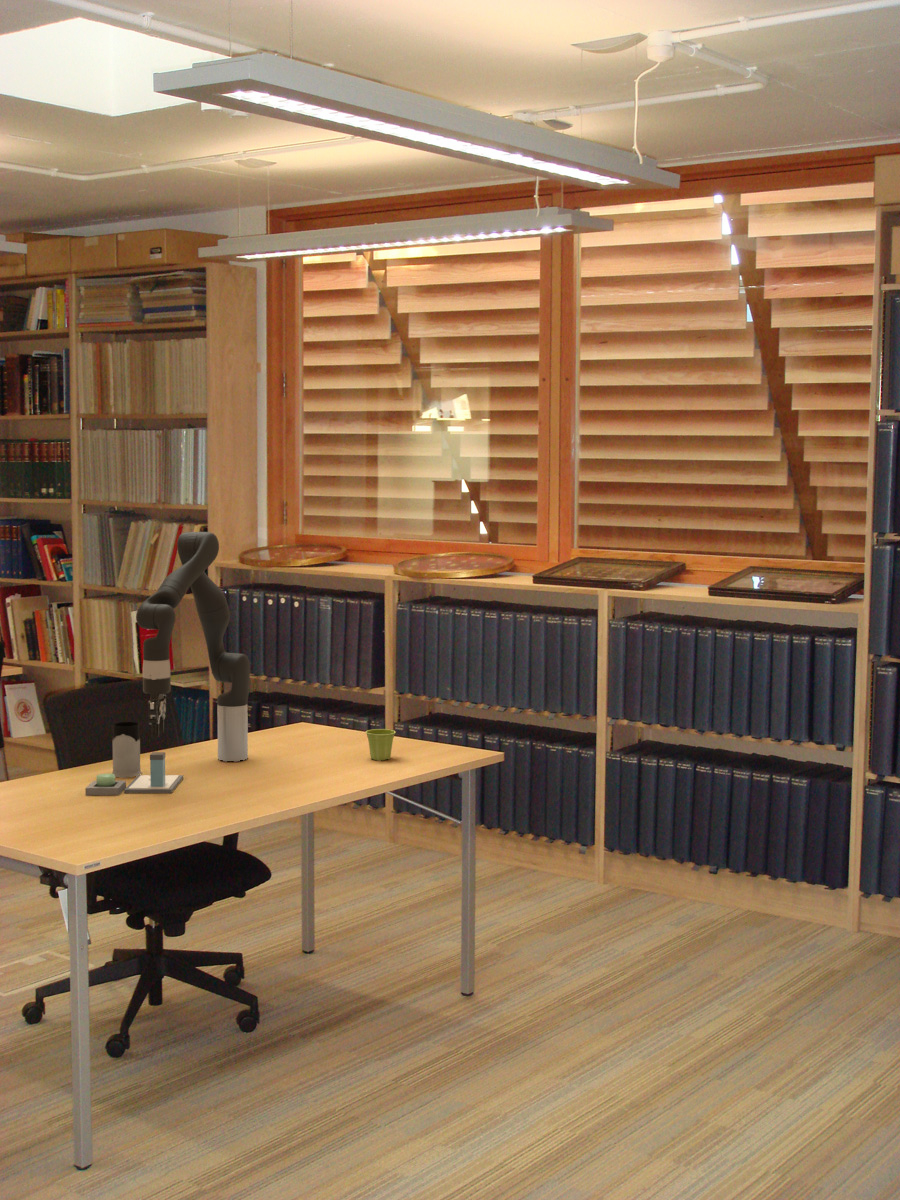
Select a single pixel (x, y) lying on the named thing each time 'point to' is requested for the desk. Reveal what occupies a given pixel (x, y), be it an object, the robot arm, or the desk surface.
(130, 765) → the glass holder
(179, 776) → the whiteboard
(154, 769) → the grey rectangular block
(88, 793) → the button housing
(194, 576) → the robot arm
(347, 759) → the desk surface
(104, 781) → the button
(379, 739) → the plant pot
